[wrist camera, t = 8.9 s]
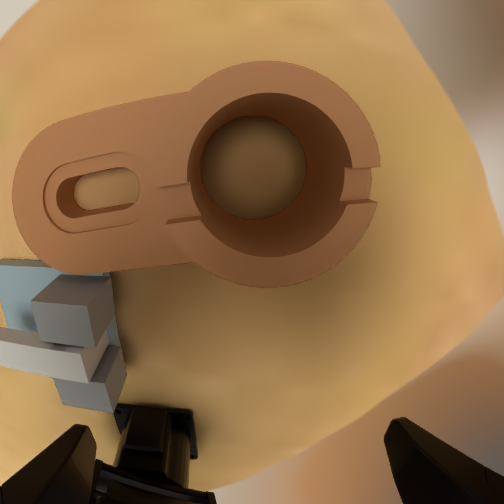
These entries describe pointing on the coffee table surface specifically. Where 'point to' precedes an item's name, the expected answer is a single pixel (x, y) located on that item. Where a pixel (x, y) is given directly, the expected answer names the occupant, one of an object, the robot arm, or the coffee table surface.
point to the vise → (62, 331)
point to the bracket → (201, 182)
